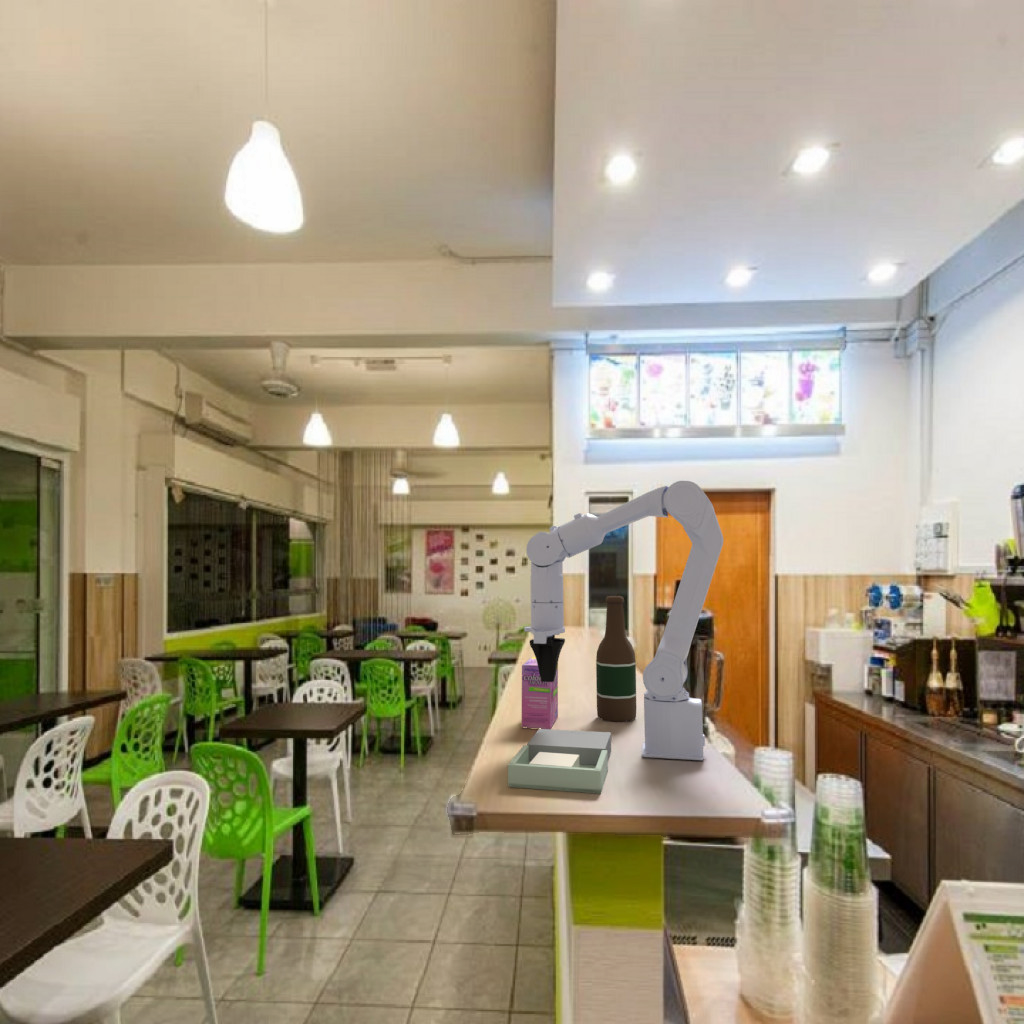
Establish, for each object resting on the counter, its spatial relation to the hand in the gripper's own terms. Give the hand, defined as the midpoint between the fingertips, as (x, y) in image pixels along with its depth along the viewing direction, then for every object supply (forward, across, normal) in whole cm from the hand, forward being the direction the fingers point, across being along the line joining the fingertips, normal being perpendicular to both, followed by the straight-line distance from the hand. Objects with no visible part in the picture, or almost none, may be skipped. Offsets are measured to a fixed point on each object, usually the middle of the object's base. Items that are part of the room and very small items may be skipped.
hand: (547, 681), depth 118 cm
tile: (+7, +20, +4) cm, 22 cm away
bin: (+10, +18, +5) cm, 22 cm away
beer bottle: (+11, -21, +10) cm, 26 cm away
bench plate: (+10, +8, +5) cm, 14 cm away
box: (+11, -14, -4) cm, 18 cm away
